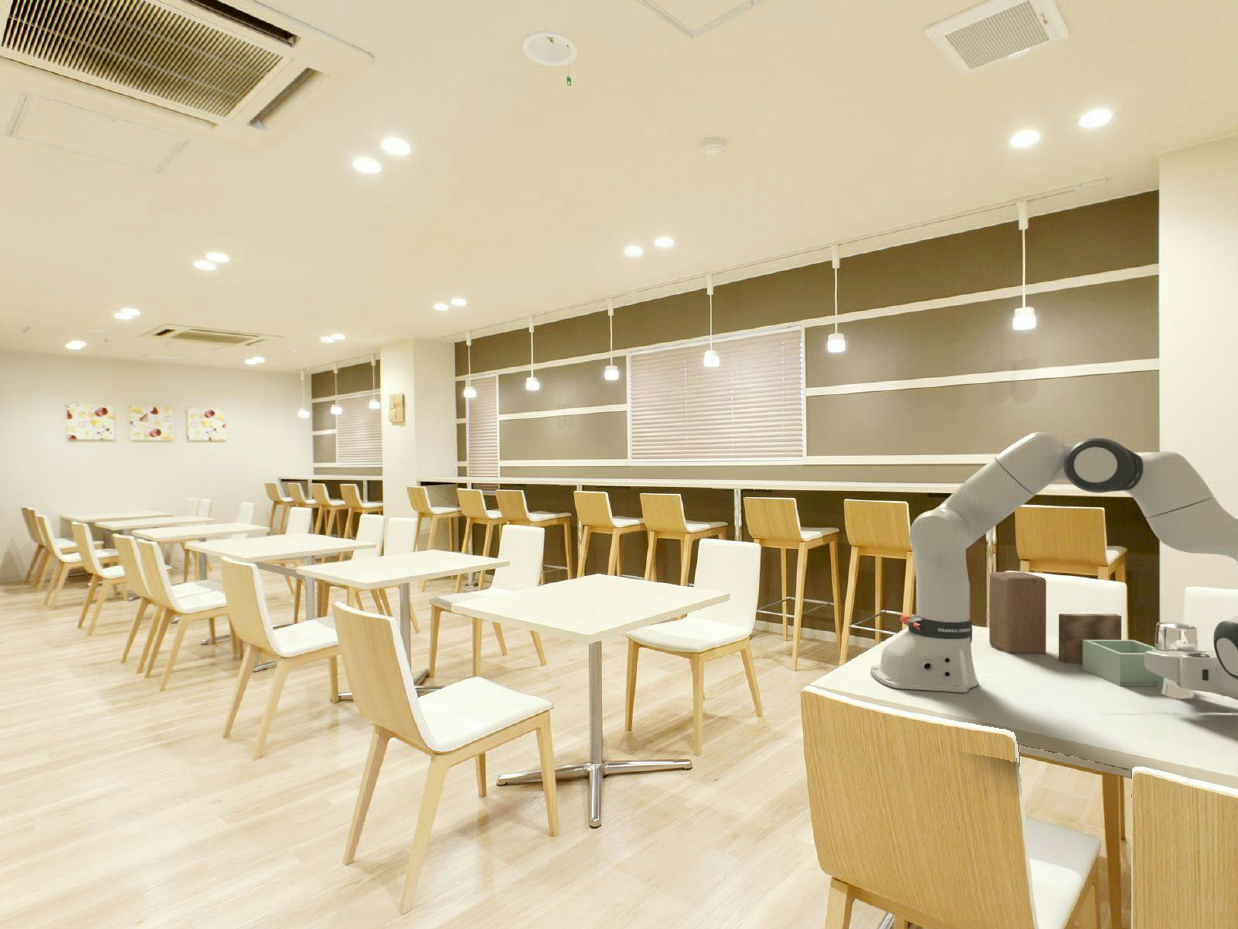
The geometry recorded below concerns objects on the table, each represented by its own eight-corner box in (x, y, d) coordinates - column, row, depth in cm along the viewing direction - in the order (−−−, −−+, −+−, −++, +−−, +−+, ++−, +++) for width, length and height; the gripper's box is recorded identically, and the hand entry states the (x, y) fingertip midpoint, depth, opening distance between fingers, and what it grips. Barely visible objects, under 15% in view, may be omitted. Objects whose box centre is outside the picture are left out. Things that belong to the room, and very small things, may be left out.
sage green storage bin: (1120, 686, 147) (1120, 654, 147) (1082, 669, 159) (1082, 639, 159) (1175, 686, 147) (1175, 654, 147) (1133, 669, 159) (1133, 640, 159)
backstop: (1118, 690, 146) (1119, 635, 146) (1058, 662, 166) (1058, 614, 166) (1183, 690, 146) (1183, 635, 146) (1115, 662, 166) (1115, 614, 166)
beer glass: (1205, 703, 138) (1206, 630, 138) (1166, 700, 140) (1167, 628, 140) (1184, 692, 145) (1185, 622, 145) (1147, 689, 146) (1148, 620, 146)
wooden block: (1047, 655, 172) (1048, 577, 172) (1008, 655, 172) (1008, 577, 172) (1024, 645, 182) (1025, 571, 182) (987, 645, 182) (987, 571, 182)
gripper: (1285, 657, 129) (1220, 638, 143) (1178, 656, 129) (1124, 637, 143) (1284, 689, 129) (1220, 667, 143) (1178, 689, 129) (1124, 667, 143)
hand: (1171, 652), depth 143 cm, fingers closed on beer glass, 6 cm apart
